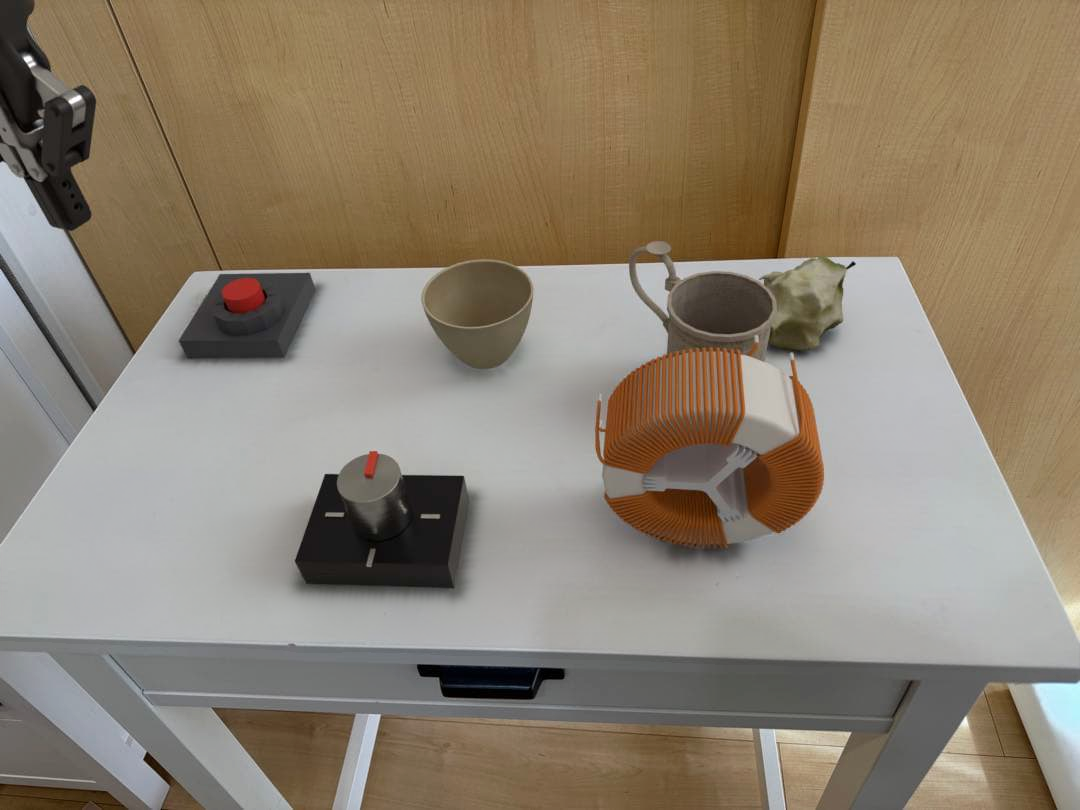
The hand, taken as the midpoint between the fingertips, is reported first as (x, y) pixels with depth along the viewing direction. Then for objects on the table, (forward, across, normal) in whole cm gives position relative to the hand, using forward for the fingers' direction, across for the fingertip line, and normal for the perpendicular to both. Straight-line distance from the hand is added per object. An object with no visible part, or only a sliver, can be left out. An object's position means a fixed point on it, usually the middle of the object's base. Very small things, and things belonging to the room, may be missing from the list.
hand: (73, 223), depth 51 cm
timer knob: (+19, +22, -2) cm, 29 cm away
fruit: (+21, +45, +32) cm, 59 cm away
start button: (+18, -5, +15) cm, 24 cm away
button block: (+22, -6, +16) cm, 28 cm away
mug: (+21, +38, +22) cm, 49 cm away
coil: (+22, +42, +8) cm, 48 cm away
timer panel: (+22, +22, -2) cm, 31 cm away
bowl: (+22, +19, +20) cm, 35 cm away
